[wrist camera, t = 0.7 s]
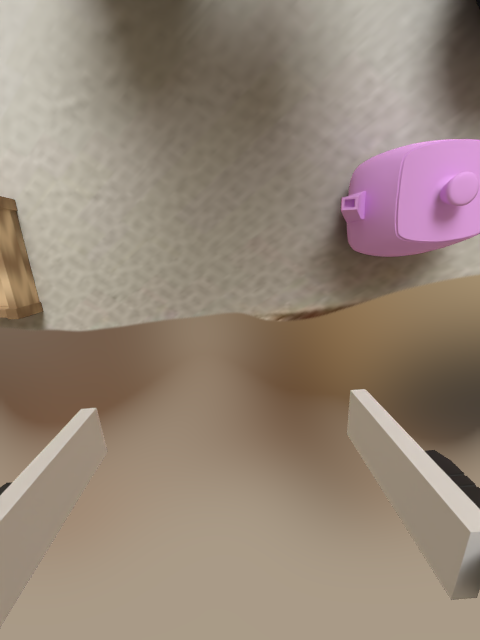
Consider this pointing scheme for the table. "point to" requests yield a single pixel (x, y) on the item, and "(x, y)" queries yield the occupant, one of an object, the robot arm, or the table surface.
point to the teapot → (414, 198)
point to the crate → (15, 267)
